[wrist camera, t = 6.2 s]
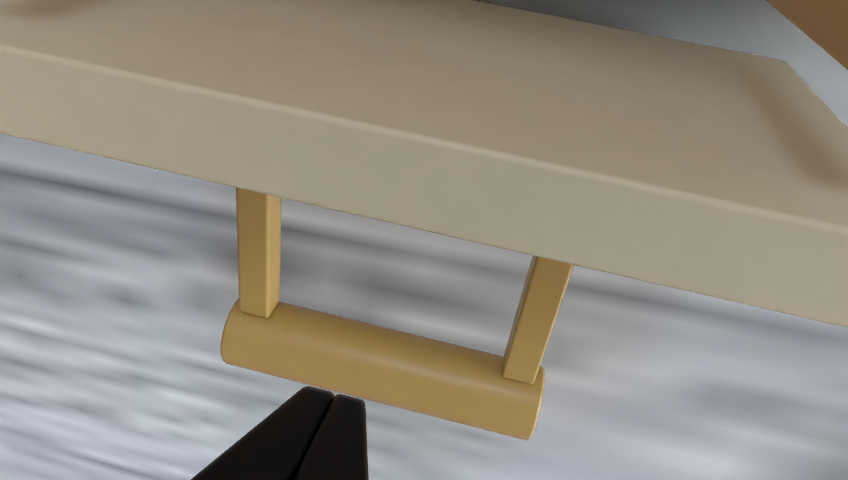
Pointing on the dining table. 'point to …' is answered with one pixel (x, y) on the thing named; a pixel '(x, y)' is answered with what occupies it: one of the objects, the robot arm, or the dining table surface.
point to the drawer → (455, 160)
